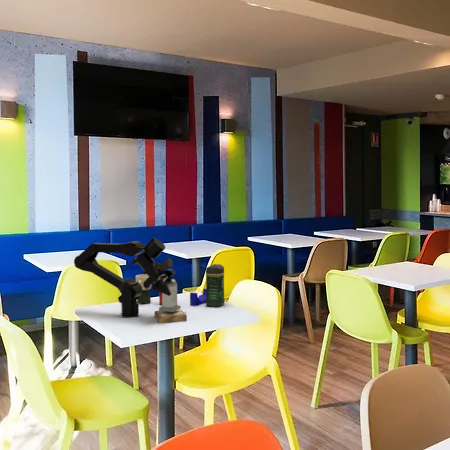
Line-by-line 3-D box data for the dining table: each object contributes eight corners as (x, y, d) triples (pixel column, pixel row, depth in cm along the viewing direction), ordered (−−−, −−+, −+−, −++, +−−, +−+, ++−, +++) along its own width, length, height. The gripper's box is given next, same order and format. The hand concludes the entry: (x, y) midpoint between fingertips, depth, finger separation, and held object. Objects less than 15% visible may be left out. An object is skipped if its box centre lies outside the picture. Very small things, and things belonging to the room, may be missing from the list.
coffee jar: (221, 307, 242) (220, 266, 240) (204, 306, 244) (203, 266, 242) (226, 303, 251) (225, 263, 250) (209, 302, 253) (209, 262, 252)
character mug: (141, 300, 259) (140, 273, 258) (155, 300, 258) (154, 273, 257) (132, 305, 249) (131, 277, 248) (146, 305, 247) (146, 277, 246)
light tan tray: (159, 323, 216) (159, 316, 215) (154, 317, 226) (154, 310, 226) (186, 320, 219) (186, 314, 219) (180, 314, 229) (180, 308, 229)
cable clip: (202, 300, 258) (202, 288, 257) (210, 301, 255) (210, 289, 255) (187, 305, 247) (187, 292, 247) (195, 306, 245) (195, 293, 245)
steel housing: (159, 310, 220) (158, 283, 220) (166, 307, 226) (166, 281, 226) (173, 311, 218) (173, 284, 217) (180, 308, 224) (180, 282, 223)
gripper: (149, 255, 213) (174, 285, 210) (171, 250, 230) (195, 277, 227) (132, 274, 217) (157, 303, 214) (155, 267, 234) (178, 294, 231)
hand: (172, 294), depth 221 cm, fingers closed on steel housing, 4 cm apart
